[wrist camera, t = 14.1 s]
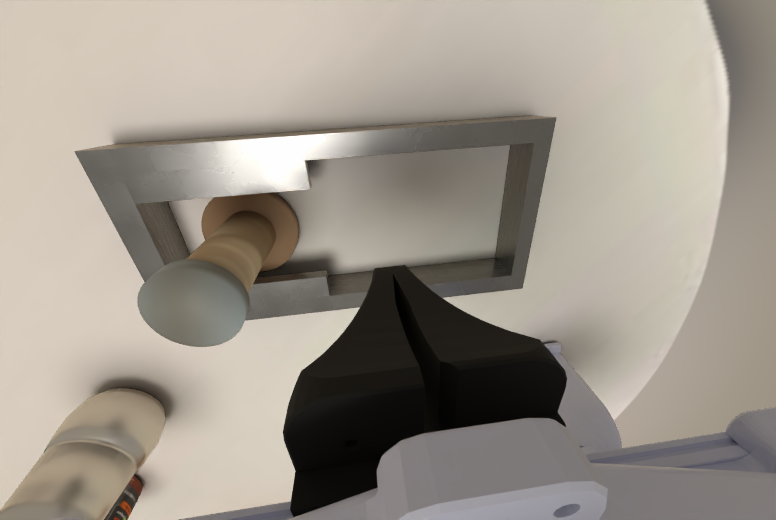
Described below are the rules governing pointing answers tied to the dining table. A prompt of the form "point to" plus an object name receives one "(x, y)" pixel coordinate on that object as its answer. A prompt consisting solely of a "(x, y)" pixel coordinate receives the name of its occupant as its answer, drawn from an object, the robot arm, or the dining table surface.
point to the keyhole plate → (290, 172)
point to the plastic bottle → (90, 458)
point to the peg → (220, 270)
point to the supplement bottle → (125, 501)
